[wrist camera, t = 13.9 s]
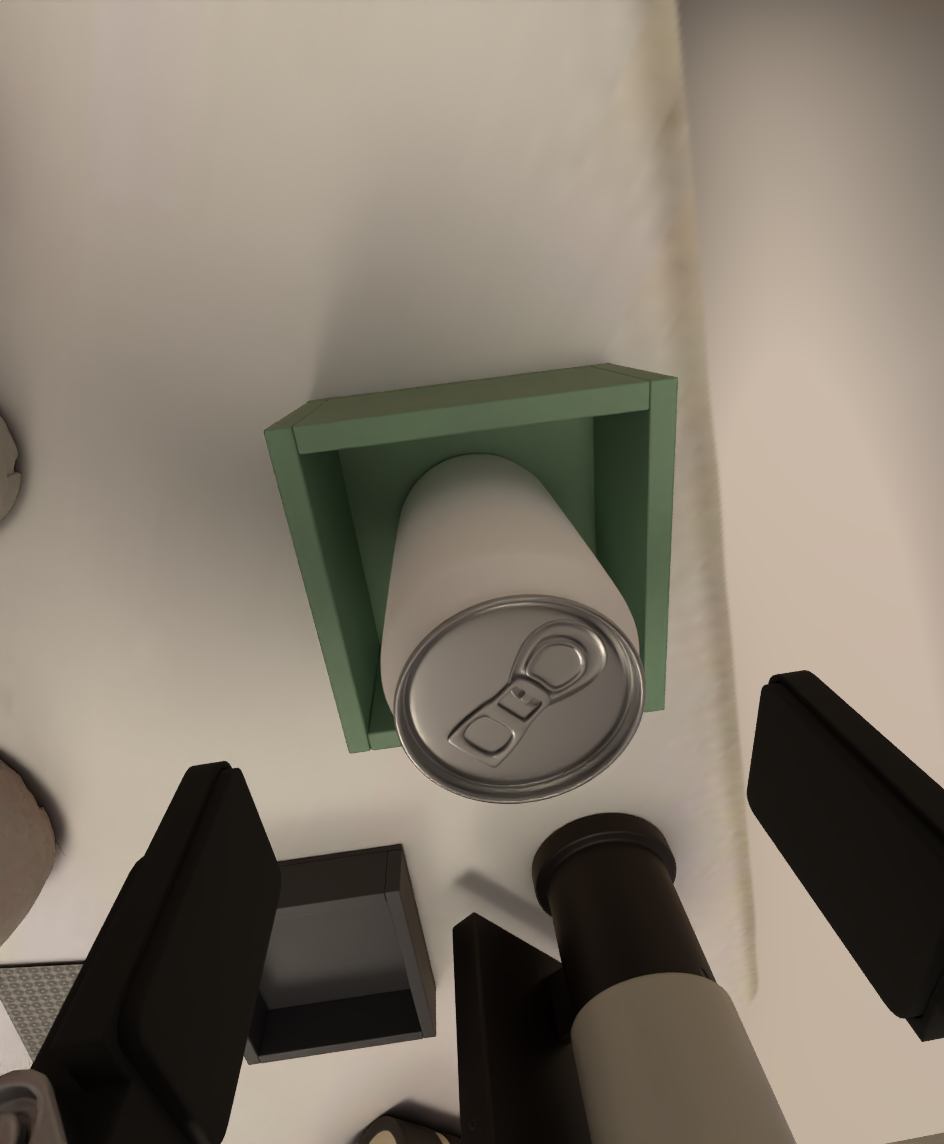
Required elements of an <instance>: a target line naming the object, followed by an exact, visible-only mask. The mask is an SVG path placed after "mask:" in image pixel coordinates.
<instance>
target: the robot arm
mask: <svg viewBox="0 0 944 1144" xmlns="http://www.w3.org/2000/svg"><path fill="white" fill-rule="evenodd" d="M747 799H748V802H749V805H750V807H751V810H752V812H753V813H754V815H755V816H756V818H757V819H758V821H759V822H760V824H761V825H762V826H763V828H764V829H765V831H766V832H767V834H768V835H769V837H770V838H771V839H772V841H773V842H774V844H775V845H776V847H777V848H778V850H779V851H780V853H781V854H782V855H783V857H784V858H785V860H786V861H787V863H788V864H789V865H790V867H791V869H792V870H793V871H794V873H795V874H796V876H797V877H798V879H799V880H800V881H801V883H802V884H803V886H804V887H805V889H806V890H807V892H808V893H809V895H810V896H811V897H812V899H813V900H814V902H815V903H816V905H817V906H818V908H819V909H820V910H821V912H822V913H823V915H824V916H825V918H826V919H827V921H828V922H829V923H830V925H831V926H832V928H833V929H834V931H835V932H836V934H837V935H838V936H839V938H840V939H841V941H842V942H843V944H844V945H845V947H846V948H847V950H848V951H849V953H850V954H851V955H852V957H853V958H854V960H855V961H856V962H857V964H858V966H859V967H860V968H861V970H862V971H863V973H864V974H865V976H866V977H867V979H868V980H869V981H870V983H871V984H872V986H873V987H874V989H875V990H876V992H877V993H878V994H879V996H880V997H881V999H882V1000H883V1002H884V1003H885V1004H886V1006H887V1007H888V1008H889V1009H890V1011H891V1012H893V1013H894V1014H895V1015H896V1016H898V1017H900V1018H905V1019H906V1020H907V1021H908V1023H909V1024H910V1026H911V1027H912V1028H913V1030H914V1031H915V1033H916V1034H917V1036H918V1037H919V1038H920V1039H921V1041H922V1042H924V1041H930V1040H935V1039H940V1038H944V789H943V788H942V787H941V786H940V785H939V784H937V783H936V782H935V781H934V780H933V779H932V778H930V777H929V776H928V775H927V774H926V773H925V772H924V771H923V770H922V769H920V768H919V767H918V766H917V765H916V764H915V763H914V762H912V761H911V760H910V759H909V758H908V757H907V756H906V755H905V754H904V753H902V752H901V751H900V750H899V749H898V748H897V747H896V746H894V745H893V744H892V743H891V742H890V741H889V740H888V739H886V738H885V737H884V736H883V735H882V734H881V733H880V732H879V731H877V730H876V729H875V728H874V727H873V726H872V725H871V724H870V723H869V722H867V721H866V720H865V719H864V718H863V717H862V716H861V715H859V714H858V713H857V712H856V711H855V710H854V709H853V708H852V707H850V706H849V705H848V704H847V703H846V702H845V701H844V700H843V699H841V698H840V697H839V696H838V695H837V694H836V693H835V692H834V691H832V690H831V689H830V688H829V687H828V686H827V685H826V684H824V683H823V682H822V681H821V680H820V679H819V678H818V677H817V676H815V675H814V674H813V673H811V672H809V671H806V670H803V671H796V672H790V673H784V674H777V675H773V676H772V677H771V678H770V680H769V683H768V684H767V685H764V686H763V688H762V690H761V696H760V703H759V710H758V717H757V724H756V731H755V738H754V745H753V752H752V759H751V765H750V772H749V779H748V786H747ZM281 883H282V882H281V871H280V868H279V865H278V863H277V860H276V858H275V855H274V852H273V850H272V847H271V845H270V842H269V840H268V837H267V835H266V832H265V829H264V827H263V824H262V822H261V819H260V817H259V814H258V812H257V809H256V806H255V804H254V801H253V799H252V796H251V794H250V791H249V789H248V786H247V784H246V781H245V778H244V776H243V773H242V771H241V770H240V769H239V768H233V769H232V767H231V766H230V764H229V763H228V762H227V761H221V762H215V763H209V764H202V765H196V766H191V767H190V768H188V770H187V771H186V773H185V775H184V777H183V779H182V781H181V783H180V785H179V787H178V789H177V791H176V793H175V795H174V797H173V799H172V801H171V803H170V805H169V807H168V809H167V811H166V813H165V815H164V817H163V819H162V821H161V823H160V825H159V827H158V829H157V831H156V833H155V835H154V837H153V839H152V841H151V843H150V845H149V847H148V849H147V851H146V853H145V855H144V857H142V858H141V859H140V860H139V861H137V862H136V864H135V865H134V867H133V868H132V870H131V871H130V873H129V875H128V877H127V879H126V881H125V883H124V885H123V887H122V889H121V891H120V893H119V895H118V897H117V899H116V901H115V902H114V904H113V906H112V908H111V910H110V912H109V914H108V916H107V918H106V920H105V922H104V924H103V926H102V928H101V930H100V932H99V934H98V936H97V938H96V940H95V942H94V944H93V946H92V948H91V950H90V952H89V954H88V956H87V958H86V960H85V962H84V964H83V966H82V968H81V970H80V972H79V974H78V976H77V978H76V979H75V981H74V983H73V985H72V987H71V989H70V991H69V993H68V995H67V997H66V999H65V1001H64V1003H63V1005H62V1007H61V1009H60V1011H59V1013H58V1015H57V1017H56V1019H55V1021H54V1023H53V1025H52V1027H51V1029H50V1031H49V1033H48V1035H47V1037H46V1039H45V1041H44V1043H43V1045H42V1047H41V1049H40V1051H39V1053H38V1055H37V1056H36V1058H35V1060H34V1062H33V1064H32V1066H31V1068H30V1069H27V1070H14V1071H12V1072H9V1073H7V1074H4V1075H2V1076H0V1144H221V1142H222V1141H223V1138H224V1136H225V1133H226V1130H227V1126H228V1122H229V1118H230V1113H231V1109H232V1105H233V1100H234V1096H235V1091H236V1087H237V1083H238V1078H239V1074H240V1069H241V1065H242V1061H243V1056H244V1052H245V1047H246V1043H247V1038H248V1034H249V1030H250V1025H251V1021H252V1016H253V1012H254V1008H255V1003H256V999H257V994H258V990H259V985H260V981H261V977H262V972H263V968H264V963H265V959H266V955H267V950H268V946H269V941H270V937H271V933H272V928H273V924H274V919H275V915H276V910H277V906H278V902H279V897H280V892H281ZM887 1144H944V1133H940V1134H935V1135H929V1136H924V1137H919V1138H914V1139H908V1140H904V1141H898V1142H893V1143H887Z"/></svg>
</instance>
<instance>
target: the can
mask: <svg viewBox="0 0 944 1144" xmlns="http://www.w3.org/2000/svg"><path fill="white" fill-rule="evenodd" d="M381 679H382V686H383V690H384V694H385V697H386V700H387V703H388V705H389V707H390V710H391V712H392V714H393V716H394V723H395V728H396V732H397V735H398V738H399V741H400V743H401V745H402V747H403V749H404V751H405V753H406V754H407V756H408V757H409V759H410V760H411V761H412V763H413V764H414V765H415V766H416V767H417V768H418V769H419V770H420V771H421V772H422V773H423V774H424V775H425V776H426V777H427V778H429V779H430V780H431V781H433V782H434V783H436V784H437V785H439V786H441V787H442V788H444V789H446V790H448V791H450V792H452V793H455V794H457V795H460V796H463V797H466V798H469V799H473V800H477V801H482V802H488V803H498V804H519V803H528V802H535V801H540V800H545V799H548V798H552V797H555V796H558V795H561V794H564V793H566V792H569V791H571V790H573V789H576V788H578V787H580V786H581V785H583V784H585V783H587V782H588V781H590V780H592V779H593V778H595V777H596V776H598V775H599V774H600V773H602V772H603V771H604V770H605V769H607V768H608V767H609V766H610V765H611V764H612V763H613V762H614V761H615V760H616V759H617V758H618V757H619V756H620V755H621V753H622V752H623V751H624V750H625V748H626V747H627V746H628V744H629V743H630V741H631V740H632V738H633V736H634V734H635V733H636V731H637V728H638V726H639V724H640V721H641V718H642V715H643V711H644V707H645V701H646V679H645V673H644V669H643V665H642V662H641V659H640V657H639V640H638V634H637V629H636V625H635V622H634V619H633V617H632V615H631V612H630V610H629V608H628V606H627V604H626V602H625V600H624V598H623V597H622V595H621V594H620V592H619V590H618V589H617V587H616V586H615V584H614V583H613V581H612V580H611V578H610V577H609V576H608V574H607V573H606V571H605V570H604V568H603V567H602V566H601V564H600V563H599V561H598V560H597V558H596V557H595V556H594V554H593V553H592V551H591V550H590V549H589V547H588V546H587V544H586V543H585V542H584V540H583V539H582V538H581V536H580V535H579V533H578V532H577V531H576V529H575V528H574V526H573V525H572V524H571V522H570V521H569V520H568V518H567V517H566V515H565V514H564V513H563V511H562V510H561V509H560V507H559V506H558V504H557V503H556V502H555V500H554V499H553V498H552V496H551V495H550V494H549V492H548V491H547V490H546V488H545V487H544V486H543V485H542V483H541V482H540V481H539V480H538V479H537V478H536V477H535V476H534V475H533V474H532V473H530V472H529V471H528V470H526V469H525V468H523V467H522V466H520V465H518V464H517V463H515V462H513V461H510V460H508V459H506V458H503V457H500V456H496V455H491V454H467V455H461V456H457V457H454V458H451V459H448V460H446V461H444V462H442V463H440V464H438V465H436V466H435V467H433V468H432V469H430V470H429V471H428V472H426V473H425V474H424V475H423V476H422V477H421V478H420V479H419V480H418V481H417V482H416V484H415V485H414V486H413V488H412V489H411V491H410V492H409V494H408V496H407V498H406V500H405V502H404V505H403V507H402V511H401V514H400V519H399V524H398V530H397V536H396V543H395V550H394V556H393V563H392V570H391V577H390V584H389V591H388V599H387V606H386V614H385V621H384V629H383V637H382V647H381Z"/></svg>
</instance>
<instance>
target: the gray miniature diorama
mask: <svg viewBox="0 0 944 1144" xmlns="http://www.w3.org/2000/svg"><path fill="white" fill-rule="evenodd" d="M82 966H83V964H79V965H60V966H40V967H21V968H2V969H0V1000H1V1001H2V1003H3V1005H4V1007H5V1009H6V1011H7V1013H8V1015H9V1017H10V1019H11V1021H12V1023H13V1025H14V1026H15V1028H16V1030H17V1032H18V1034H19V1036H20V1038H21V1040H22V1042H23V1044H24V1046H25V1048H26V1050H27V1051H28V1053H29V1055H30V1057H31V1059H32V1061H33V1062H34V1060H35V1058H36V1056H37V1055H38V1053H39V1051H40V1049H41V1047H42V1045H43V1043H44V1041H45V1039H46V1037H47V1035H48V1033H49V1031H50V1029H51V1027H52V1025H53V1023H54V1021H55V1019H56V1017H57V1015H58V1013H59V1011H60V1009H61V1007H62V1005H63V1003H64V1001H65V999H66V997H67V995H68V993H69V991H70V989H71V987H72V985H73V983H74V981H75V979H76V978H77V976H78V974H79V972H80V970H81V968H82Z"/></svg>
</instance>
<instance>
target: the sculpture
mask: <svg viewBox="0 0 944 1144" xmlns="http://www.w3.org/2000/svg"><path fill="white" fill-rule="evenodd" d="M55 842H56V843H57V841H56V839H55V836H54V831H53V829H52V826H51V823H50V819H49V817H48V815H47V813H46V811H45V809H44V807H38V805H37V803H36V801H35V798H34V796H33V795H32V794H31V793H30V792H29V791H28V789H27V788H26V786H25V785H24V783H23V781H22V779H21V777H20V776H19V775H18V774H17V773H16V772H15V771H13V770H12V769H11V768H10V767H8V766H7V765H6V764H5V763H4V762H2V761H1V760H0V947H1V946H2V944H3V943H4V942H5V941H6V940H7V939H8V938H9V936H10V935H11V934H12V933H13V932H14V930H15V929H16V928H17V927H18V925H19V924H20V923H21V922H22V920H23V919H24V918H25V916H26V915H27V914H28V912H29V911H30V909H31V907H32V906H33V904H34V902H35V901H36V899H37V897H38V896H39V894H40V892H41V890H42V888H43V886H44V884H45V882H46V879H47V877H48V875H49V873H50V871H51V869H52V866H53V863H54V859H55V856H56V853H55ZM57 845H58V846H59V844H58V843H57ZM59 848H60V846H59ZM60 849H61V848H60ZM61 851H62V850H61ZM62 852H63V851H62ZM63 854H64V853H63Z"/></svg>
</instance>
